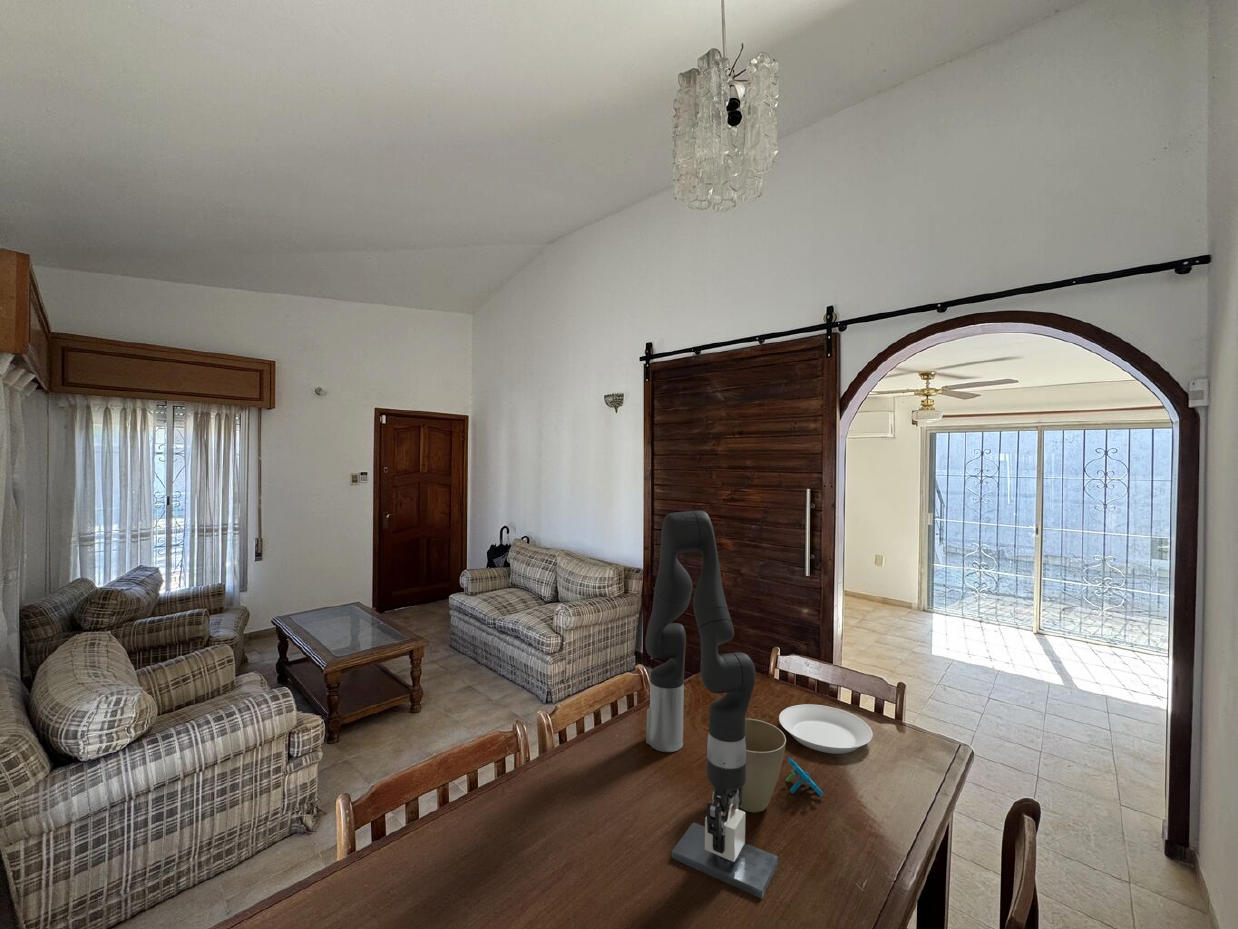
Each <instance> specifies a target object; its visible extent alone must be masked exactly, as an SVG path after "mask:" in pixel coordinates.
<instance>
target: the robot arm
mask: <svg viewBox="0 0 1238 929" xmlns="http://www.w3.org/2000/svg"><path fill="white" fill-rule="evenodd" d="M660 535H661V536H660V553H659V564H658V571H657V575H656V580H655V584H654V591H653V601H652V610H651V615H650V617H649V620H648V624H647V629H646V633H645V650H646V653H647V654H648V656H650V657H651V658H652V659H653V658H654V659H668V660H667V661H666V662H664V663H662V664H659V665H657V666H655V667H654V668H652V669H651V671H650V674H649V675H650V677H649V678H650V685H649V686H650V689H649V690H650V691H649V707H648V708H646V742H645V743H646V744H647V745H650V747H651V748H652V749H654V750H656V751H658V752H661V753H663V752H664V753H672V752H673V753H674V752H677V751H679V750H680V749H682V748H683V746H684V699H685V698H684V697H685V695H684V694H685V693H684V691H685V690H684V689H685V687H684V686H685V684H684V683H685V682H684V681H685V662H686V660H685V659H686V648H687V646H686V645H687V635H686V629H685V627H684V625H683V624H681V623H679V622H678V623H675V622H674V621H675V620H677V619H678V618H679V617H680V616H682V615H683V614H684V613H685V611H686V610H687V609H688V606H689V604H690V601H691V597H692V592H693V581H692V578H691V575H690V574H689V572H688V571H687V570H686V568H685V567H684V566H683V565H682V564H681V562H680V561H679V559H678V556H679V554H682V553H691V552H692V553H693V552H700V553H701V557H702V558H701V559H702V565H701V566H702V567H701V572H700V575H699V580H698V581H697V583H696V584H697V585H696V587H695V590H694V594H693V600H692V605H693V606H692V608H693V614H694V617H695V622H696V625H697V628H698V633H699V638H700V639H699V640H700V669H699V670H700V678H701V681H702V684H703V686H704V688H706V690H707V691H709V692H710V693H712V694H713V695H714V694H715V695H716V694H718V695H719V694H725V693H726V694H725V695H723V696H722V697H720V698H718V699H715V700H713V701H712V703H710V706H709V709H708V712H709V713H708V736H707V745H706V746H707V747H706V778H707V781H708V782H709V783H710V784H711V785H712V786H713V788H714V789H713V790H712V796H711V798H712V803H710V802H707V804H706V809H705V810H706V816H707V832H708V833H710V834H712V835H713V850H714V851H717V852H719V853H721V854H722V853H723V852H724V851H725V829H726V823H727V821H729V820H730V814H731V807H733V808H734V809H738V810H740V809H739V808H740V807H739V806H741V804H742V790H743V785H744V784H745V781H746V741H745V718H746V716H747V712H748V709H749V705H750V702H751V698H752V695H753V692H754V688H755V684H756V677H757V676H756V675H757V672H756V668H755V663H754V662H753V660H752V658H751V657H750V656H749V655H748V654H746V653H744V652H730V653H720V654H719V646H721V645H724V644H726V643H729V642H730V641H731V640H733V638H734V637H735V629H734V626H733V622H732V618H731V615H730V612H729V608H728V604H727V601H726V596H725V592H724V589H723V583H722V576H721V575H722V574H721V568H720V567H721V566H720V561H719V554H718V548H717V541H716V537H715V536H716V535H715V531H714V527H713V523H712V521H711V518H710V516H709V514H708V513H707V512H706V511H704V510H689V511H688V510H687V511H679V512H671V513H669V514H666V515H665V517H664V518H663V522H662V526H661V534H660ZM673 622H674V623H673ZM738 805H739V806H738ZM722 812H725V813H726V815H725V816H724V815H722ZM721 820H722V821H721Z"/></svg>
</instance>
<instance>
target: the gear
mask: <svg viewBox="0 0 1238 929" xmlns="http://www.w3.org/2000/svg"><path fill="white" fill-rule="evenodd" d="M786 761H788V763H789V764H790V765H791V766H790V767H792V768H791V770H790V772H791V773H790V774H789V776H787V778H785V781H786V782H787V783H789V782H790V781H791V780H792V779H793V778H794V777H795V779H796V780H797V781H796V782H795V783H794V784H793V785H792V786H791V788H790V789H789V792H790V793H791V794H794V793H795V792H796V791H797V789H798V788H800V786H801V785H802V786H804V784H805V783H807V784H808V786H810V787H811V789H813V790H814V791H815V793H817V795H818V796H820V797H822V796H823V795H824V792H823V791H822V789H821V788H820V787H819V786H818V785H817V784H816V783H815V782H814V781H813V780H812V779H811V777H810V773H808V771H804V770H803V769H802V768H801V767H800V766H799V765H798V763H797V762H796V761H794V760H793V759H792V758H791V757H790V756H789V757H788V758H787V759H786Z"/></svg>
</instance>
